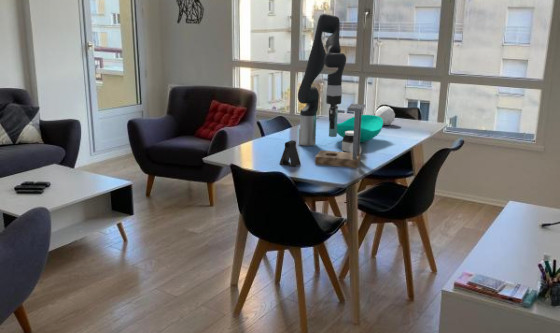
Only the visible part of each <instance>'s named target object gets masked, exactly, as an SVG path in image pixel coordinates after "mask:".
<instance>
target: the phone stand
mask: <svg viewBox="0 0 560 333" xmlns="http://www.w3.org/2000/svg"><path fill="white" fill-rule="evenodd" d="M298 153H299V152H298V148H297V141H296V140H293V139H292V140H288V141H286V142H284V149H283V152H282V154H281V158H280V161H279V165H280V166H286V167H292V168H296V167H299V166H300V165H301V163H302V162H301V159H300V156H299V154H298Z"/></svg>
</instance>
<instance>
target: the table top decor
mask: <svg viewBox="0 0 560 333" xmlns="http://www.w3.org/2000/svg"><path fill="white" fill-rule="evenodd" d="M354 118H355V116H353V117H350V118H348V119H346V120H345V121H343V122H340V123H337V135H338V136H340V137H341V138H343V137H344V136H345V132H346V131H354ZM383 126H384V125H383V120H382V118H381V117H379V116H375V114H362V116H361V135H360V143H364V142H367V141H370V140H372V139H374V138H375V137H376V136H378V135H379V134H380V133H381V131H382V128H383Z"/></svg>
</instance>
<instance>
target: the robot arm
mask: <svg viewBox="0 0 560 333" xmlns="http://www.w3.org/2000/svg"><path fill="white" fill-rule="evenodd" d="M340 24H341V23H340V18H339V17H338V16H336V15H333V14H329V13H328V14H327V13H321V14H319V17H318V20H317V24H316V28H315V34H314V38H313V43H312V46H311V49H310V52H309V55H308V60H307V65H306V69H305V71H304V74H303V78H302V80H301V83H300V84H299V85H300V86H299V88H298V92H297V100H298V102H299V103H300V104H303V105H304V104H306V105H305V106H304V107H303V108H302V109H301V110H299V111H300V113H299V116H300V117H299V120H300V121H299V129H298V145H299V146H303V147H304V146H305V147H312V146H316V142H317V138H316V136H317V113H318V111H319V102H320V101H319V100H320V99H319V98H320V97H319V96H320V94H319V90H318V88H317V87H316V86H312V85H313V83H314V81H315V80H316V79H317V77H319V75H320V74H321V72H322V71H323V70H324V67H327V68H329V69H332V68H333V69H337V70H336V71H334V72H329V73H328V74H327V80H326V81H327V84H326V97H325V98H326V99H325V103H326V104H327V105H330V106H329V108H328V122H329V121H330V129H334V126H335V117H336V112H337V113H339V112H338V111H339V106H338V105H341V104H342V98H343V96H342V95H343V94H342V93H343V92H342V91H343V89H342V84H343V82H342V80H343V72H344V69H345V66H346V63H347V56H346V55H345V53H342V49H341V44H340V32H341V30H340V29H341V28H340V27H341V25H340ZM323 33H326V34H330V36H328V37H327V39H326V41H325V46H324V43H323ZM334 114H335V115H334ZM331 117H333V119H331Z"/></svg>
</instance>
